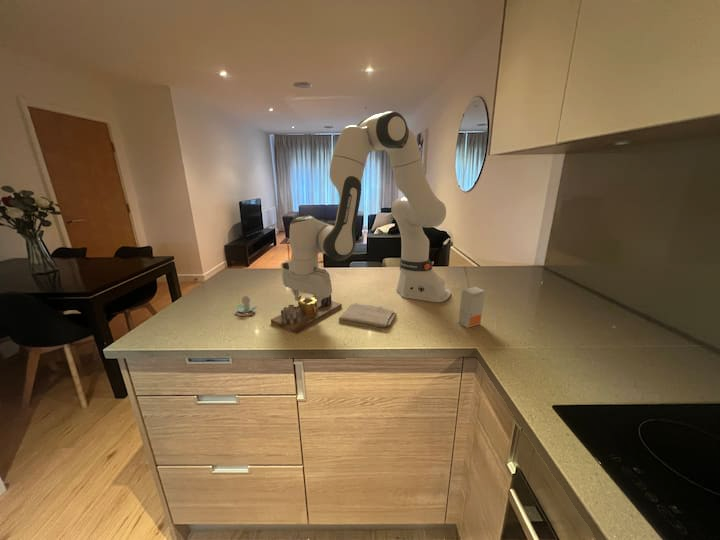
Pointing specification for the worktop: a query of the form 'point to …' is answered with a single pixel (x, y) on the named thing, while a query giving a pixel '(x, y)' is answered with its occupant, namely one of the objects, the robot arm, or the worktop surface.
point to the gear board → (298, 322)
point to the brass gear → (308, 306)
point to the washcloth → (368, 316)
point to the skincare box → (471, 307)
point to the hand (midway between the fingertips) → (307, 303)
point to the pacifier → (245, 307)
